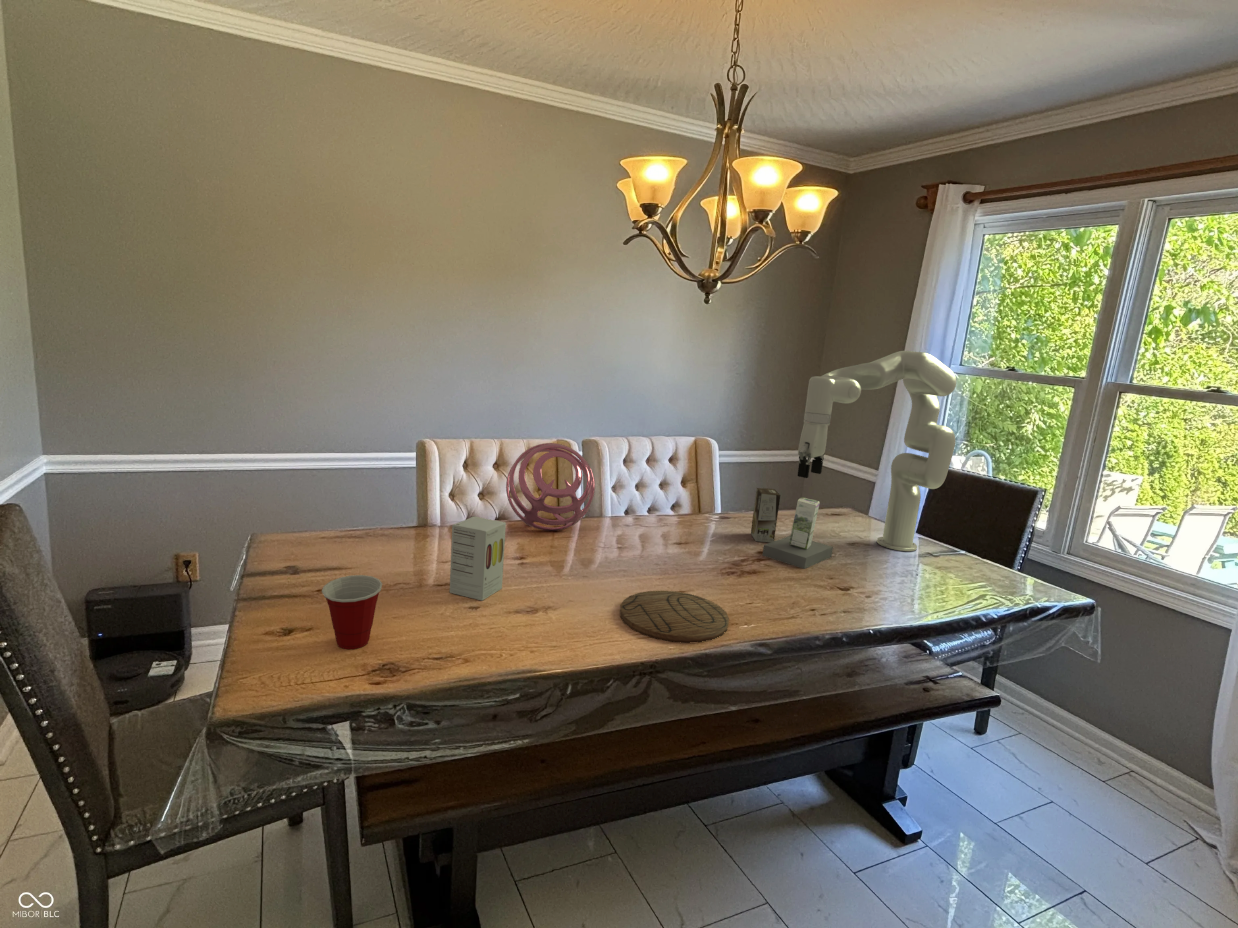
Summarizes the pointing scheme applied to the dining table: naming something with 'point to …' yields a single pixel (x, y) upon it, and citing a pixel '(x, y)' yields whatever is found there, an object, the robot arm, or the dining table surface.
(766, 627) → the dining table surface
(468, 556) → the supplement box
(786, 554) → the plate
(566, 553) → the dining table surface
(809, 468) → the robot arm
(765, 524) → the coffee box
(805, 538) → the syrup box
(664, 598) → the trivet
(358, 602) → the plastic cup
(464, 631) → the dining table surface
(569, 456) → the pink openwork sphere
